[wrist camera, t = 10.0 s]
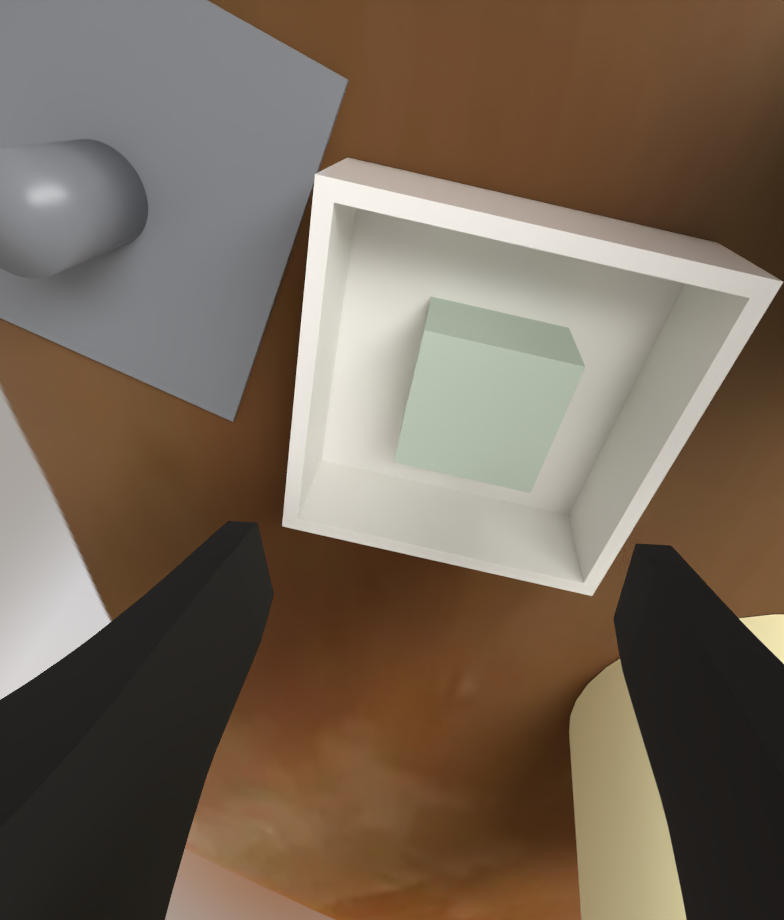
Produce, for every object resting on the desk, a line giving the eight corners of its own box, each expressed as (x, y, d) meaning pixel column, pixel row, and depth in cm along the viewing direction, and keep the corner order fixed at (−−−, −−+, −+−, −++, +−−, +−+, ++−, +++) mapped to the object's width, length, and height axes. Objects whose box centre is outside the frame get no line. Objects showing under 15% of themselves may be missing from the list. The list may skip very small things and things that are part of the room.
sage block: (568, 327, 17) (585, 366, 15) (522, 443, 20) (530, 493, 17) (431, 296, 17) (424, 329, 15) (403, 416, 20) (393, 462, 17)
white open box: (717, 242, 16) (783, 281, 12) (573, 520, 22) (592, 595, 19) (348, 157, 15) (315, 174, 12) (310, 461, 22) (282, 526, 18)
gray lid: (353, 81, 15) (311, 74, 11) (240, 412, 22) (188, 482, 18) (-89, -169, 13) (-327, -283, 9) (-66, 274, 20) (-199, 318, 16)
